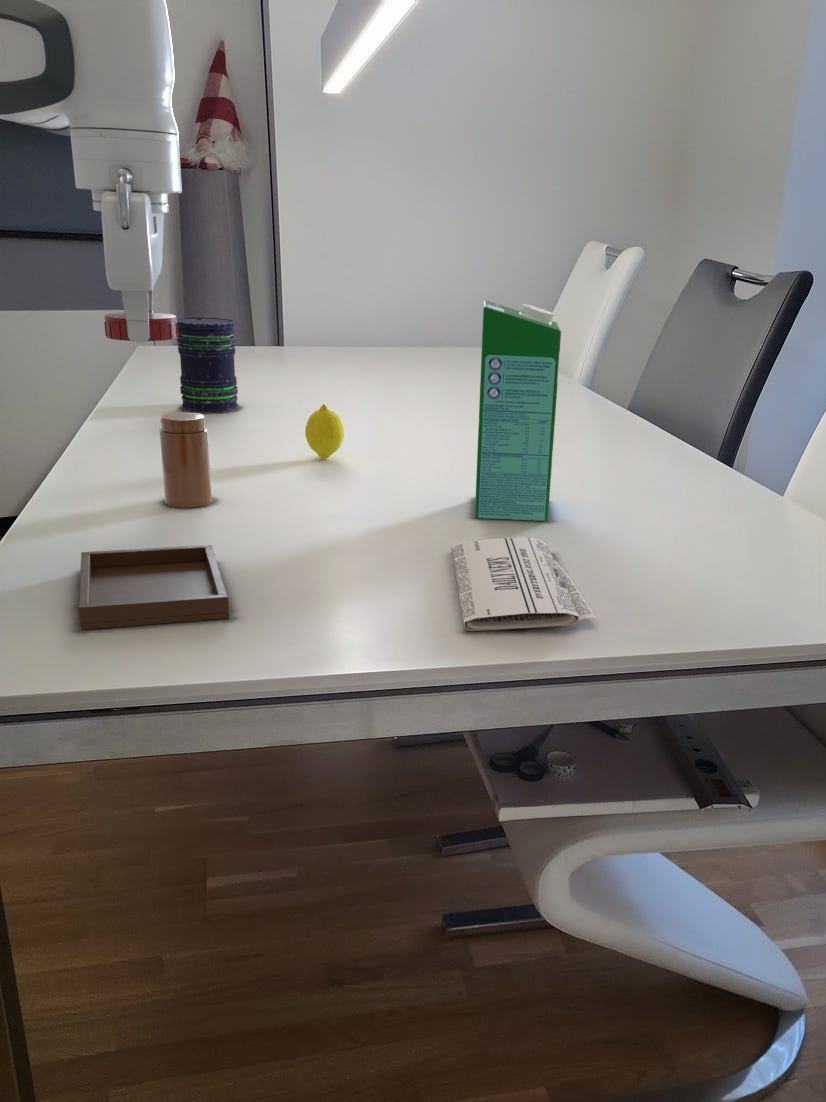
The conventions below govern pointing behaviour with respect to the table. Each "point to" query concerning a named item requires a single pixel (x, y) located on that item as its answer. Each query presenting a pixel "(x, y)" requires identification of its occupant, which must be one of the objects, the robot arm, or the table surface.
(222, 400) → the dark purple barrel
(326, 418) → the fruit
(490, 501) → the milk carton
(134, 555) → the tray
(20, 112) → the robot arm
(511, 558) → the newspaper
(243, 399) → the table surface
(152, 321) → the lid
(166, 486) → the jar
